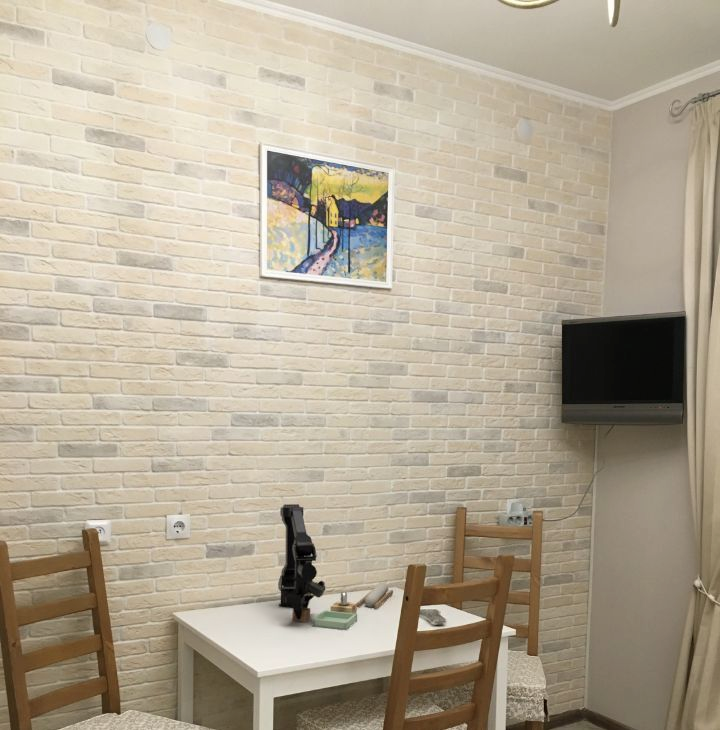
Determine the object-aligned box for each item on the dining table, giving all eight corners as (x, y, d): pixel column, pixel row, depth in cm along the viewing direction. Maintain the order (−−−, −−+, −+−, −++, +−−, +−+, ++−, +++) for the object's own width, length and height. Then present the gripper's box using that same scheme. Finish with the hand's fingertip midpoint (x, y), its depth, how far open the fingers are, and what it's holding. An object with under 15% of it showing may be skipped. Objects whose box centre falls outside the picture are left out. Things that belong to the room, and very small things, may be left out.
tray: (312, 626, 282) (312, 619, 282) (324, 617, 294) (324, 610, 294) (346, 630, 278) (346, 623, 278) (357, 620, 291) (357, 613, 291)
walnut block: (292, 621, 288) (292, 610, 288) (297, 617, 293) (297, 606, 293) (305, 622, 286) (305, 611, 287) (309, 619, 291) (310, 608, 291)
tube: (377, 599, 308) (390, 584, 333) (365, 593, 310) (378, 579, 334) (373, 611, 309) (386, 596, 333) (361, 606, 310) (374, 591, 334)
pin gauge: (339, 614, 299) (340, 593, 299) (341, 612, 301) (341, 591, 301) (345, 615, 298) (345, 593, 298) (347, 613, 300) (347, 592, 301)
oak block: (330, 615, 297) (330, 606, 297) (337, 610, 304) (337, 601, 305) (350, 617, 294) (350, 608, 295) (356, 612, 302) (356, 603, 302)
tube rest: (356, 607, 309) (356, 602, 310) (374, 592, 334) (374, 588, 334) (376, 609, 307) (376, 604, 307) (392, 594, 332) (393, 590, 332)
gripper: (314, 581, 279) (313, 626, 278) (331, 571, 297) (330, 613, 296) (285, 579, 282) (284, 623, 281) (303, 569, 300) (302, 610, 299)
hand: (301, 617), depth 290 cm, fingers closed on walnut block, 5 cm apart
